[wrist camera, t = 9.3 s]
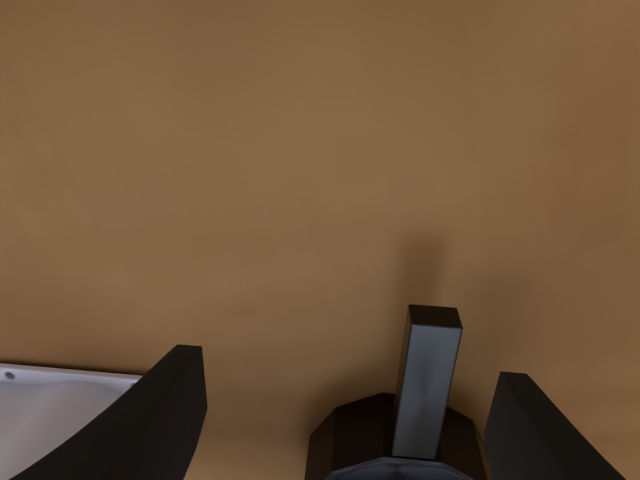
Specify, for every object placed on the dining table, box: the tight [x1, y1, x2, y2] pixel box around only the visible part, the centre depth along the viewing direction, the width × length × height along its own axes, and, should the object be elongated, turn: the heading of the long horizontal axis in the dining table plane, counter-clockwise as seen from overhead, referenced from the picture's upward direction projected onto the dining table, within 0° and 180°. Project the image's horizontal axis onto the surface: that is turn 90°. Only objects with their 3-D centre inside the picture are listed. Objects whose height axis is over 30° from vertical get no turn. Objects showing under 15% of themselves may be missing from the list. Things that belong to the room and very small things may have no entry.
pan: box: [304, 304, 492, 480], centre depth 24 cm, size 17×10×4 cm, turn 178°
